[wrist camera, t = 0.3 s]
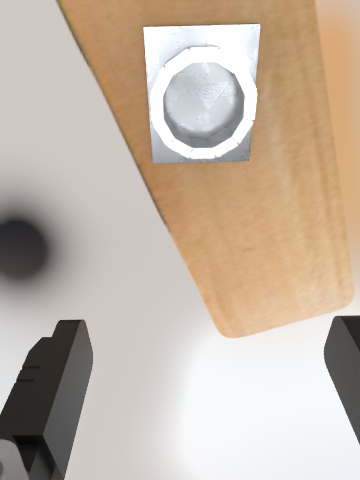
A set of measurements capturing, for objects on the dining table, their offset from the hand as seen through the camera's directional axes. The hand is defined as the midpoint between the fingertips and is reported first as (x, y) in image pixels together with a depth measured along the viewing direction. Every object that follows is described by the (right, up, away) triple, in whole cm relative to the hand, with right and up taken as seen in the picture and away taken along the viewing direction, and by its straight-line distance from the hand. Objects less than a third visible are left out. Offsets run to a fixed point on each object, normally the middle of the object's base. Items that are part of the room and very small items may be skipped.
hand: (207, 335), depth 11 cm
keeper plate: (+1, +17, +22) cm, 28 cm away
